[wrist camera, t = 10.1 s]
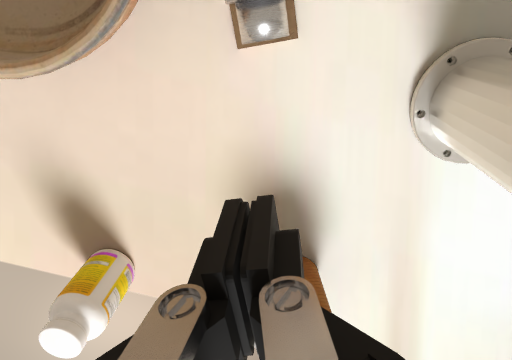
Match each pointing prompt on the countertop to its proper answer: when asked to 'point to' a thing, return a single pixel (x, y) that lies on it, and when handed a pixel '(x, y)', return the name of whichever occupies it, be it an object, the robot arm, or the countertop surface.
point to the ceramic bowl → (54, 32)
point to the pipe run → (263, 21)
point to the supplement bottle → (87, 303)
